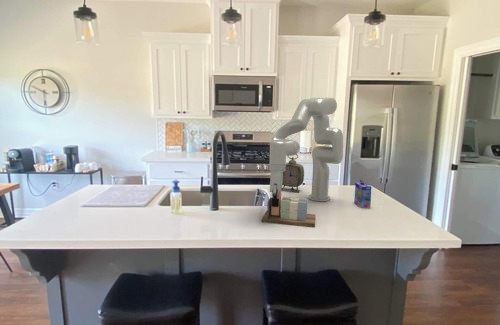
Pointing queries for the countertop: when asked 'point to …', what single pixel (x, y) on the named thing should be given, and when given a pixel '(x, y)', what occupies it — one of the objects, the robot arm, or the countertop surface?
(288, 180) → the tabletop clock
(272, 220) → the walnut shelf
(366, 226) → the countertop surface
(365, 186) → the ink cartridge box
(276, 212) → the terracotta rectangular block
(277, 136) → the robot arm
